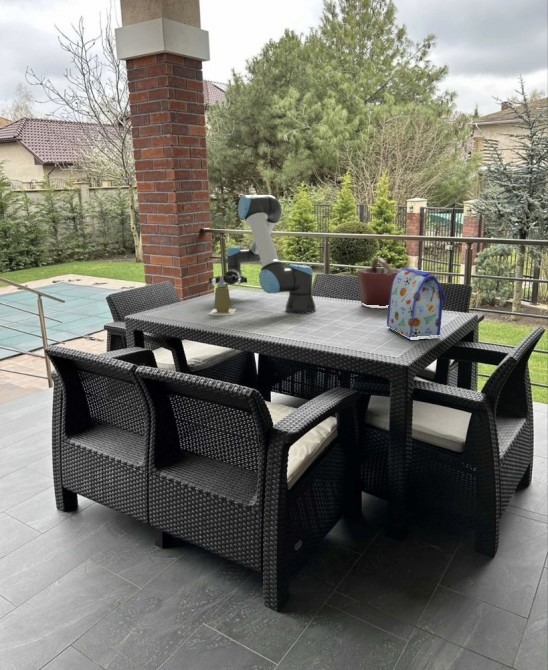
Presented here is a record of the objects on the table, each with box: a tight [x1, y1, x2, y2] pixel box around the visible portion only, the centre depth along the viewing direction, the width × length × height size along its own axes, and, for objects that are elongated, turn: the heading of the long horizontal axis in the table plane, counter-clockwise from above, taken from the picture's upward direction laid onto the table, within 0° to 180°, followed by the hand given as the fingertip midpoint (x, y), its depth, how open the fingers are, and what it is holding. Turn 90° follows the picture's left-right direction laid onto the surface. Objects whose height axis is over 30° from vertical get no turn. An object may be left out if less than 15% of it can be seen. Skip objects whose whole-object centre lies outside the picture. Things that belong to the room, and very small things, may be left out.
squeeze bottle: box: [214, 275, 231, 312], centre depth 266 cm, size 8×8×18 cm
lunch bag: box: [386, 267, 447, 338], centre depth 220 cm, size 23×17×27 cm
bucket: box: [356, 257, 401, 306], centre depth 276 cm, size 24×22×25 cm
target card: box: [208, 308, 237, 316], centre depth 268 cm, size 12×12×1 cm
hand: (225, 282), depth 275 cm, fingers open, 13 cm apart
